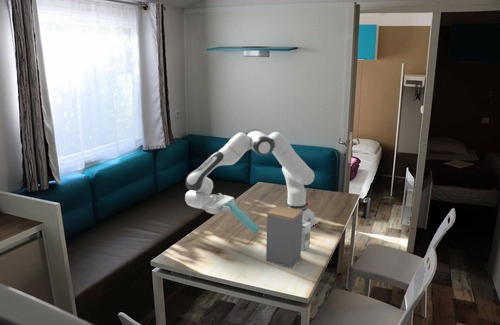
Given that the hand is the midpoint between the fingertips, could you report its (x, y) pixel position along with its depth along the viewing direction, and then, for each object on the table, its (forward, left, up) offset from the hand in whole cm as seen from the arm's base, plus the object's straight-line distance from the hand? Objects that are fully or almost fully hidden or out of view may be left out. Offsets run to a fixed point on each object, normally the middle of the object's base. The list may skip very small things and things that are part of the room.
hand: (233, 207), depth 227 cm
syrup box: (-28, +25, -22) cm, 44 cm away
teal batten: (-2, +5, -6) cm, 8 cm away
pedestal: (-11, +28, -22) cm, 37 cm away
